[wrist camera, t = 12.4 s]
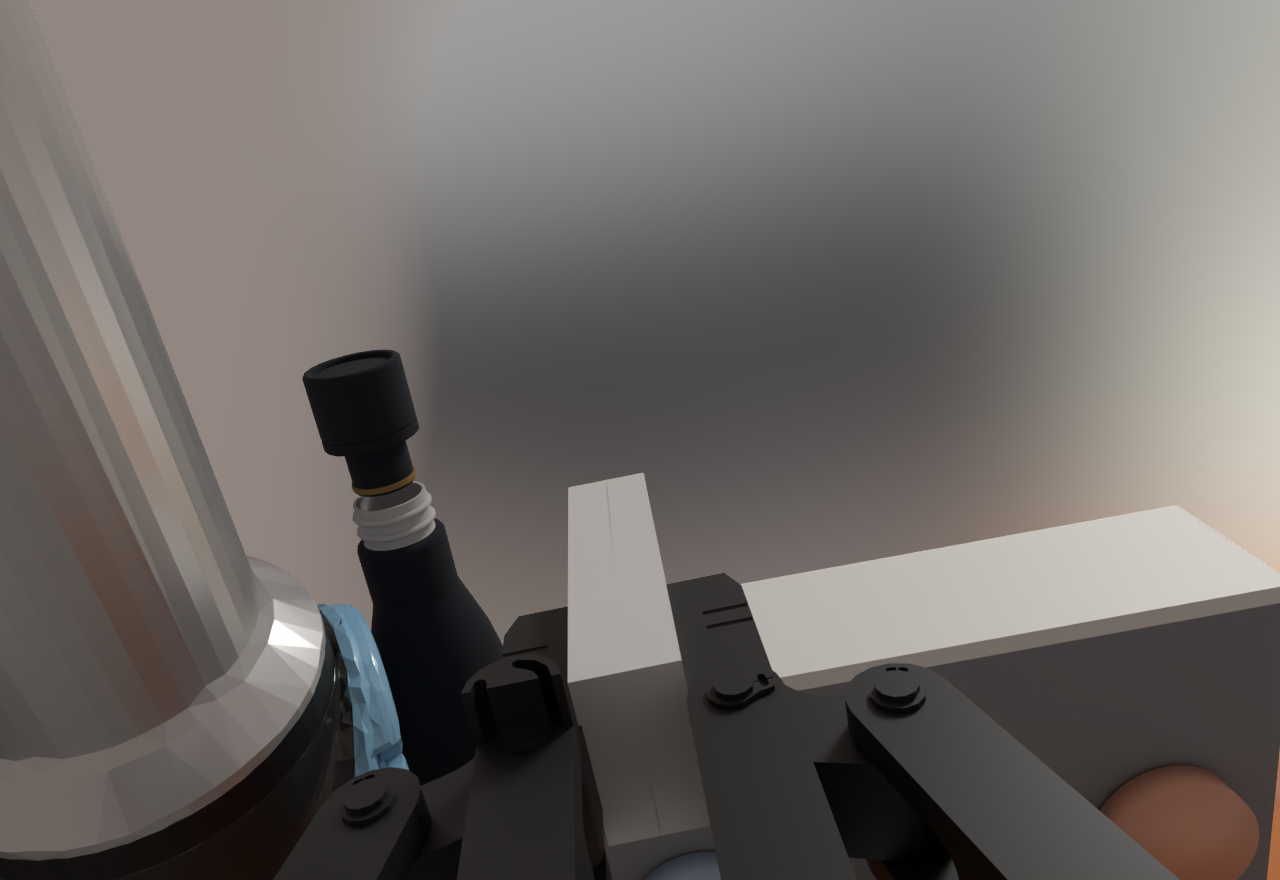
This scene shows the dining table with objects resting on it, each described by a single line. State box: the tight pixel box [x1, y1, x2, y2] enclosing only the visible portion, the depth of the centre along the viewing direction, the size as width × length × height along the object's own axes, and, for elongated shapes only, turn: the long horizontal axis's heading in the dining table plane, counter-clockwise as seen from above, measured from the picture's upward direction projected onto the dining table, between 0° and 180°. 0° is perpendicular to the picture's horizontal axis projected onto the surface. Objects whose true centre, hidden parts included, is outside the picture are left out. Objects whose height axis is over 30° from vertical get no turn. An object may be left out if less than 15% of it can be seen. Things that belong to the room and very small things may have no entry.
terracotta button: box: [1100, 765, 1259, 880], centre depth 32 cm, size 4×5×5 cm
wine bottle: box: [303, 350, 503, 786], centre depth 42 cm, size 6×6×30 cm
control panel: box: [604, 505, 1280, 880], centre depth 35 cm, size 6×24×21 cm, turn 93°
